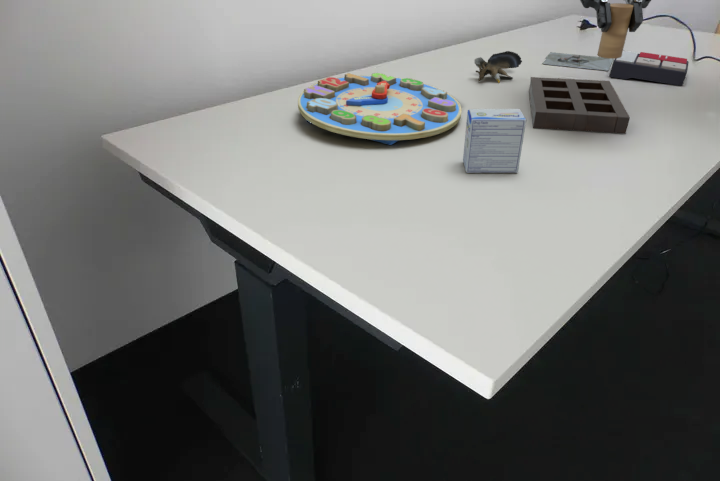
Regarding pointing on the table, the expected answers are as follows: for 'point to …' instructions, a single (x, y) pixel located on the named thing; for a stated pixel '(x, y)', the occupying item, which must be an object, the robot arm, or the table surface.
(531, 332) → the table surface
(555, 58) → the grey fossil slab
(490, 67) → the squirrel figurine
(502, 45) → the table surface
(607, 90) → the brown grid tray
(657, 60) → the dual switch box
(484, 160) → the medicine box
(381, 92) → the shape sorting clock
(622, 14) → the peg
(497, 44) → the table surface
